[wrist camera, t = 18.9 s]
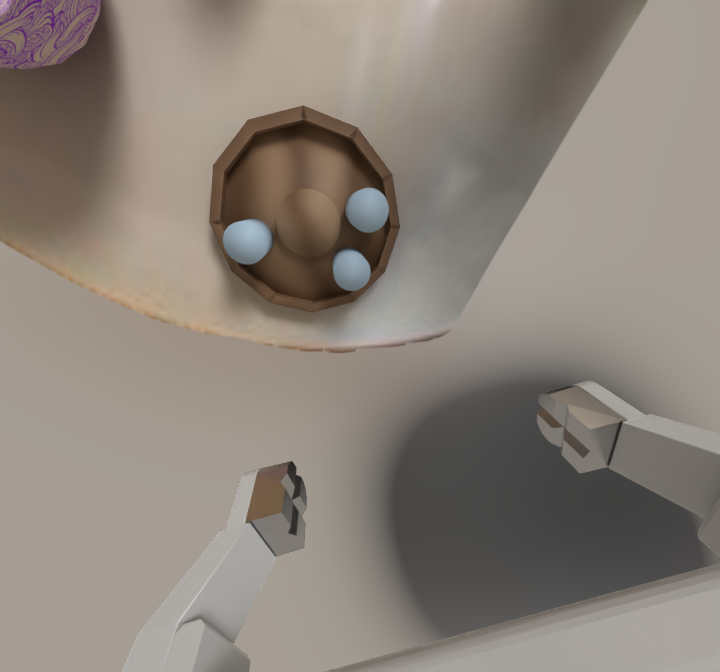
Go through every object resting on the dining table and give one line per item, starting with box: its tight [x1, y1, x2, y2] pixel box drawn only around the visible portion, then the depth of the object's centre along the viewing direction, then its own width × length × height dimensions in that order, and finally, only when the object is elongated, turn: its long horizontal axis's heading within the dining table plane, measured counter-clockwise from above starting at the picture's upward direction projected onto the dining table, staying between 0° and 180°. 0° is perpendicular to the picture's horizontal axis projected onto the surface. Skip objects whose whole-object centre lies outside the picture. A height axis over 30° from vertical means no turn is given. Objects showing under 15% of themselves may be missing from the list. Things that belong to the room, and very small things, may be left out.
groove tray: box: [209, 106, 400, 312], centre depth 31 cm, size 20×20×2 cm
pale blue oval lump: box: [223, 219, 274, 264], centre depth 29 cm, size 4×4×5 cm
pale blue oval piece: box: [345, 188, 389, 233], centre depth 29 cm, size 4×4×5 cm
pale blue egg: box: [332, 247, 371, 291], centre depth 31 cm, size 4×4×5 cm
